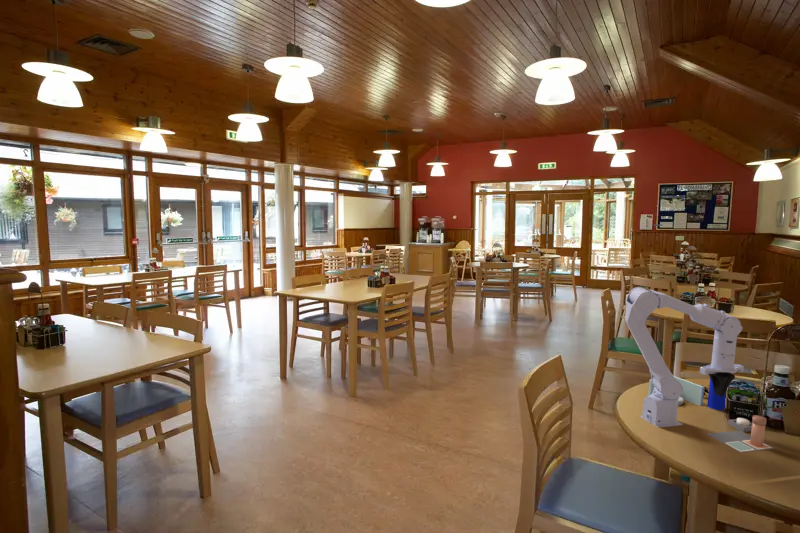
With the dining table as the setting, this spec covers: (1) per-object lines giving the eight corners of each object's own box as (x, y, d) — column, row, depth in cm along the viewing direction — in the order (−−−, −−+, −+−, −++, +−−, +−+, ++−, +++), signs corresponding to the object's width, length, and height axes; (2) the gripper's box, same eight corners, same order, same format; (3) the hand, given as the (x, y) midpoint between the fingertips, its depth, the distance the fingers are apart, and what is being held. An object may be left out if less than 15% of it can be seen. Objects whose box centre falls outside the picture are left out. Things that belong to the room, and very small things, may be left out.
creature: (702, 394, 177) (687, 391, 174) (706, 380, 177) (691, 378, 174) (722, 402, 170) (707, 400, 167) (726, 388, 170) (711, 385, 167)
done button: (743, 428, 144) (743, 422, 144) (733, 424, 148) (734, 418, 147) (751, 428, 145) (752, 421, 145) (741, 423, 148) (742, 417, 148)
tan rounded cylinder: (757, 447, 134) (760, 420, 133) (746, 441, 137) (749, 415, 136) (766, 446, 135) (769, 419, 134) (755, 440, 138) (758, 414, 137)
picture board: (740, 454, 131) (740, 452, 131) (706, 435, 142) (706, 433, 142) (774, 450, 134) (774, 448, 134) (738, 432, 144) (738, 430, 144)
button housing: (743, 433, 143) (743, 427, 143) (727, 426, 148) (728, 420, 148) (756, 432, 145) (757, 426, 144) (741, 424, 150) (741, 418, 149)
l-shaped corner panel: (647, 399, 170) (649, 379, 169) (670, 394, 175) (672, 375, 174) (678, 413, 159) (681, 391, 158) (702, 407, 164) (704, 386, 163)
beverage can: (724, 413, 158) (729, 370, 156) (706, 409, 161) (711, 367, 159) (725, 408, 162) (730, 366, 160) (707, 404, 165) (712, 363, 163)
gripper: (715, 358, 139) (711, 402, 141) (754, 355, 142) (750, 398, 144) (695, 351, 146) (691, 393, 148) (733, 348, 149) (729, 389, 151)
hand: (719, 395), depth 146 cm, fingers closed
